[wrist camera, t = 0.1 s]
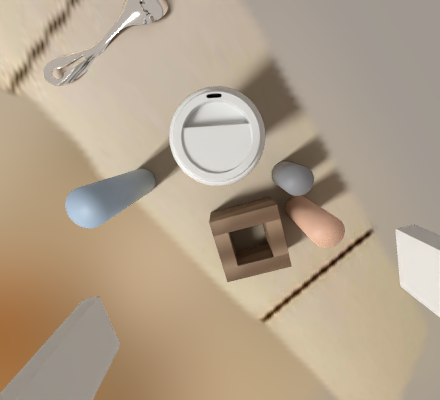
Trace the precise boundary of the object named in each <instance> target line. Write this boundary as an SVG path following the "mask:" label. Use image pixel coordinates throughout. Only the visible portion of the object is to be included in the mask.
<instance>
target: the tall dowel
mask: <svg viewBox="0 0 440 400" xmlns="http://www.w3.org/2000/svg"><path fill="white" fill-rule="evenodd" d="M154 187H155V177H154V175H153V174H152V173H151V172H150V171H149V170H146V169H138V170H134V171H131V172H128V173H125V174H121V175H118V176H115V177H112V178H108V179H105V180H102V181H99V182H95V183H92V184H89V185H86V186H82V187H79V188H77V189H74V190H73V191H71V192H70V193H69V195H68V197H67V199H66V204H65V205H66V211H67V214H68V216H69V217H70V219H72V221H73V222H75V223H76V224H77V225H79V226H81V227H84V228H95V227H98V226H100V225H101V224H103V223H104V222H106V221H107V220H109V219H110V218H112V217H113V216H115V215H116V214H118V213H119V212H121V211H122V210H124V209H125V208H127V207H128V206H130V205H131V204H133V203H134V202H136V201H137V200H139V199H140V198H142V197H143V196H145V195H146V194H147V193H149V192H150V191H152V190H153V189H154Z"/></svg>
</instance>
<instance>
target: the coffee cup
mask: <svg viewBox="0 0 440 400" xmlns="http://www.w3.org/2000/svg"><path fill="white" fill-rule="evenodd" d="M169 141H170V147H171V151H172V154H173V156H174V159H175V160H176V162H177V164H178V165H179V167H180V168H181V169H182V170H183V171H184V172H185V173H186V174H187V175H188V176H189V177H191V178H192V179H194V180H196V181H198V182H200V183H203V184H207V185H213V186H222V185H228V184H232V183H234V182H237V181H239V180H241V179H242V178H244V177H245V176H247V175H248V174H249V173H250V172H251V171H252V170H253V169H254V168H255V166H256V165H257V163H258V162H259V160H260V158H261V155H262V153H263V150H264V145H265V127H264V123H263V120H262V117H261V115H260V113H259V111H258V109H257V108H256V106H255V105H254V104H253V102H252V101H251V100H250V99H249V98H247V97H246V96H245V95H243V94H242V93H240V92H238V91H236V90H234V89H231V88H227V87H221V86H214V87H207V88H203V89H200V90H198V91H196V92H194V93H192V94H191V95H189V96H188V97H187V98H186V99H185V100H184V101H183V102H182V103H181V104H180V105H179V107H178V108H177V110H176V111H175V113H174V116H173V118H172V121H171V125H170V131H169Z"/></svg>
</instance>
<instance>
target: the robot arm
mask: <svg viewBox="0 0 440 400" xmlns="http://www.w3.org/2000/svg"><path fill="white" fill-rule="evenodd" d="M396 241H397V253H398V264H399V276H400V286H401V287H402V288H404V289H405V290H406V291H407V292H409V293H410V294H411V295H412V296H414V297H415V298H416V299H417V300H419V301H420V302H421V303H422V304H424V305H425V306H427V308H429V309H430V310H431V311H433V312H434V313H435V314H436V315H438V316H439V317H440V235H438V234H436V233H434V232H431V231H429V230H426V229H424V228H422V227H419V226H417V225H410V226H406V227H401V228H397V229H396ZM119 347H120V343H119V341H118V339H117V337H116V334H115V332H114V329H113V327H112V325H111V322H110V320H109V318H108V316H107V313H106V311H105V308H104V306H103V304H102V301H101V299H100V297H99V296H97V297H93V298H89V299H84V300H83V301H82V302H81V303H80V304H79V305H78V306H77V308H75V310H74V311H73V312H72V313H71V314H70V315H69V316H68V318H67V319H66V320H65V321H64V322H63V323H62V324H61V326H60V327H59V328H58V329H57V330H56V331H55V332H54V333H53V334H52V336H51V337H50V338H49V339H48V340H47V341H46V342H45V343H44V345H43V346H42V347H41V348H40V349H39V350H38V351H37V353H36V354H35V355H34V356H33V357H32V358H31V359H30V361H28V363H27V364H26V365H25V366H24V367H23V368H22V369H21V371H20V372H19V373H18V374H17V375H16V376H15V377H14V378H13V380H12V381H11V382H10V383H9V384H8V385H7V386H6V388H5V389H4V390H3V391H2V392H1V393H0V400H93V398H94V396H95V394H96V392H97V390H98V388H99V386H100V384H101V382H102V380H103V378H104V376H105V374H106V372H107V370H108V368H109V366H110V364H111V362H112V360H113V358H114V356H115V354H116V352H117V350H118V349H119Z"/></svg>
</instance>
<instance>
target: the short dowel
mask: <svg viewBox="0 0 440 400" xmlns="http://www.w3.org/2000/svg"><path fill="white" fill-rule="evenodd" d="M272 179H273V181H274V182H275V183H276V184H277V185H278V186H280V187H281V188H282V189H284V190H285V191H286V192H288V193H289V194H291V195H293V196H301V195H304V194H306V193H307V192H308V191H309V190H310V189H311V188H312V186H313V183H314V176H313V173H312V171H311V170H310V169H309V168H307V167H305V166H302V165H299V164H295V163H291V162H287V161H283V162H280V163H278V164H276V165H275V166H274V168H273V170H272Z"/></svg>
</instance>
